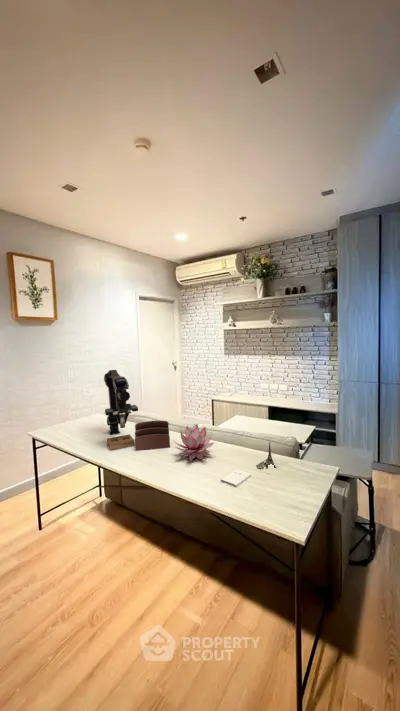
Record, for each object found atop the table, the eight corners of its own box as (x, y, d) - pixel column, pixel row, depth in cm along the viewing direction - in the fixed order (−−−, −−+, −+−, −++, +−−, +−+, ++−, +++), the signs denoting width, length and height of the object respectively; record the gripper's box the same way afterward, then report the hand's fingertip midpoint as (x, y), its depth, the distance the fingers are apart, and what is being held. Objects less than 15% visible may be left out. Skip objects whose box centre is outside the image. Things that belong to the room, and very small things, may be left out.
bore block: (106, 444, 180) (106, 438, 180) (129, 439, 187) (129, 434, 186) (110, 450, 170) (109, 444, 169) (134, 445, 176) (134, 440, 176)
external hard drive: (220, 482, 130) (236, 471, 140) (236, 488, 125) (251, 476, 135) (220, 479, 130) (236, 468, 140) (236, 484, 125) (251, 473, 134)
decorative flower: (188, 446, 172) (187, 420, 171) (221, 452, 161) (220, 425, 160) (165, 460, 154) (164, 432, 153) (201, 468, 143) (200, 438, 142)
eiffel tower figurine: (268, 458, 153) (268, 433, 152) (286, 464, 146) (286, 438, 145) (251, 469, 142) (251, 441, 141) (270, 475, 135) (269, 447, 134)
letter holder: (136, 444, 178) (134, 421, 177) (169, 441, 181) (168, 419, 180) (135, 451, 168) (133, 427, 167) (170, 448, 171) (169, 424, 170)
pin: (119, 427, 180) (118, 414, 179) (124, 426, 181) (123, 413, 180) (120, 428, 177) (119, 415, 176) (125, 427, 178) (124, 414, 178)
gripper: (106, 403, 166) (108, 430, 168) (139, 398, 174) (141, 424, 175) (104, 399, 177) (105, 425, 178) (135, 395, 184) (136, 420, 185)
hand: (122, 424), depth 179 cm, fingers closed on pin, 3 cm apart
